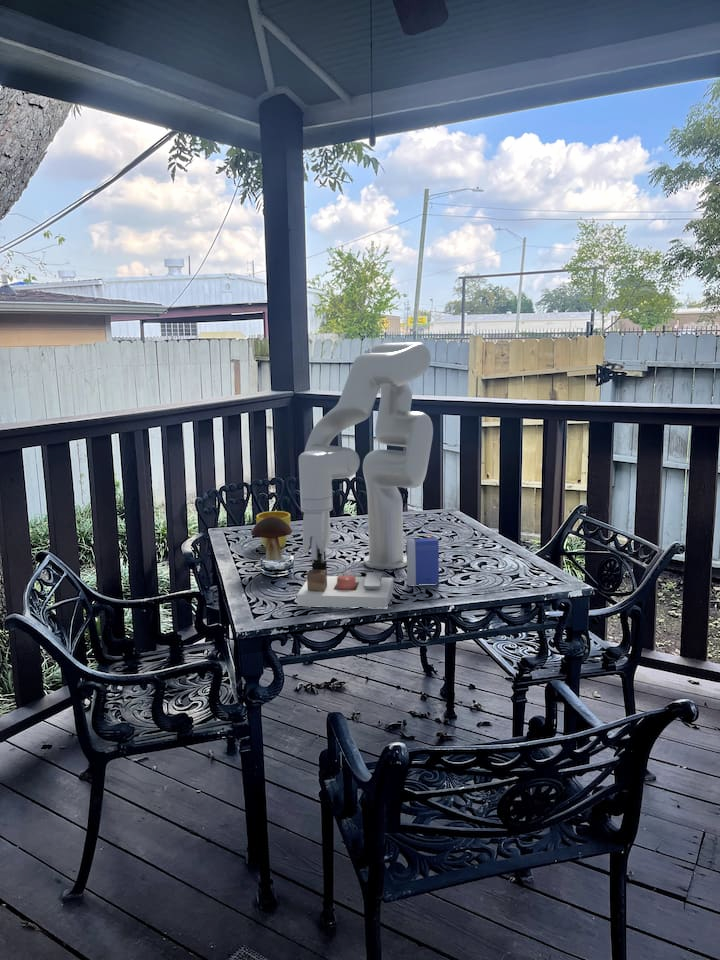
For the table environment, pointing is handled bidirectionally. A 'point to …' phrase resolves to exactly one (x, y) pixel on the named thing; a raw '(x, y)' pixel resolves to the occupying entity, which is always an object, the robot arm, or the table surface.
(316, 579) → the walnut slider
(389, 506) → the robot arm
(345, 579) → the red button
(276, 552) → the decorative mushroom
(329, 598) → the control panel
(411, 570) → the walkman
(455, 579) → the table surface
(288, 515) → the plant pot
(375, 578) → the grey rocker
